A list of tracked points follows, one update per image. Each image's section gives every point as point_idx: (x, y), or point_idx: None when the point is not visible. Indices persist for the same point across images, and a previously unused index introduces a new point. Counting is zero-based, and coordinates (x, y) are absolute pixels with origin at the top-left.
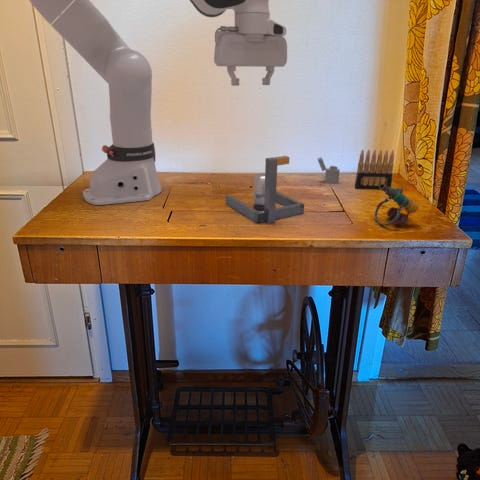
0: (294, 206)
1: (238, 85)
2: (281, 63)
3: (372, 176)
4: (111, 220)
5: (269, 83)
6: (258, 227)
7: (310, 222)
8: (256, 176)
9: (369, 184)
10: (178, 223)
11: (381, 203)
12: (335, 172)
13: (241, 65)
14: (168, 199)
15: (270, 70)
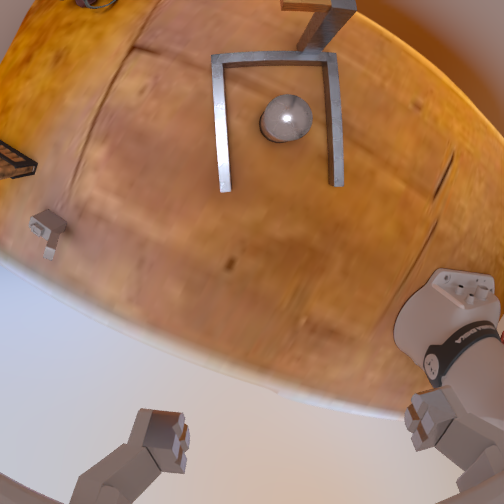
0: (238, 52)
1: (415, 394)
2: (1, 494)
3: (2, 154)
4: (499, 207)
5: (143, 413)
6: (336, 44)
7: (230, 19)
8: (309, 118)
9: (15, 155)
10: (444, 138)
11: (88, 4)
12: (40, 218)
13: (480, 488)
14: (413, 260)
15: (113, 493)
